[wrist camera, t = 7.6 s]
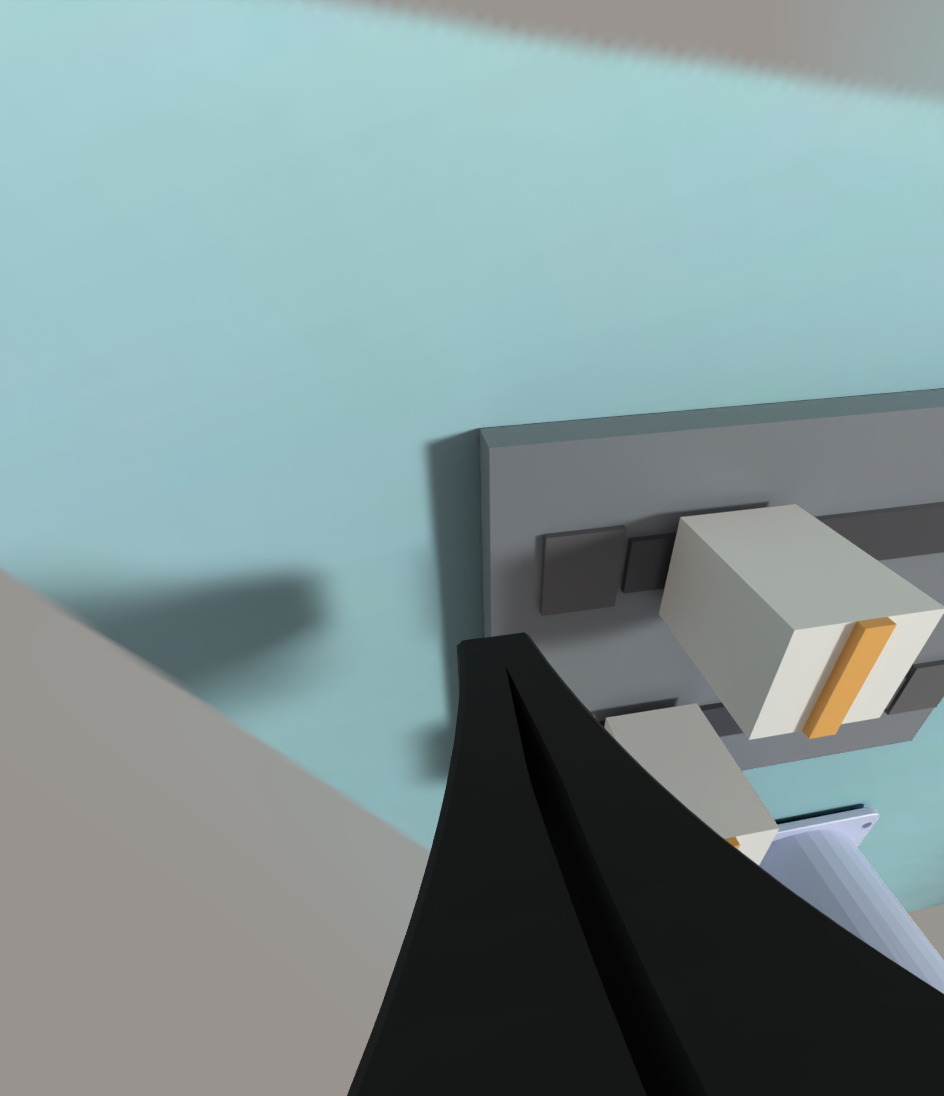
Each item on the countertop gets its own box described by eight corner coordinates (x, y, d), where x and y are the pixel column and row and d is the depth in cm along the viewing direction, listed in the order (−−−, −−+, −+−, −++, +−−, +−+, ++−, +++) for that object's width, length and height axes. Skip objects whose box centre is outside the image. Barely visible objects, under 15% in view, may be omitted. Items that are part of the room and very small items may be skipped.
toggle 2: (761, 599, 14) (887, 725, 11) (658, 614, 14) (754, 748, 10) (795, 504, 13) (956, 615, 9) (679, 517, 12) (802, 638, 9)
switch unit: (886, 716, 22) (916, 744, 21) (487, 784, 20) (494, 820, 18) (1099, 374, 14) (1165, 389, 13) (479, 428, 12) (491, 451, 11)
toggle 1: (678, 761, 18) (752, 893, 15) (595, 775, 18) (651, 914, 14) (696, 703, 16) (784, 836, 13) (605, 717, 16) (671, 858, 13)
